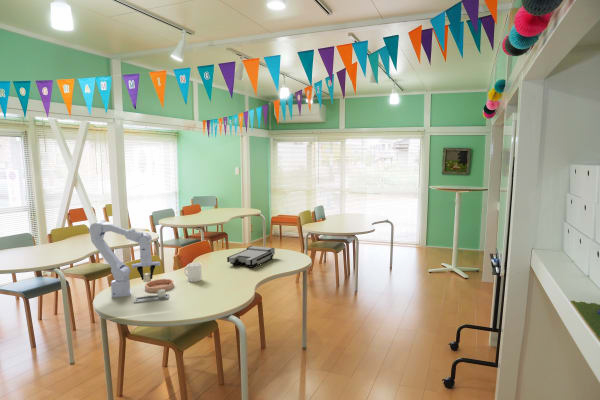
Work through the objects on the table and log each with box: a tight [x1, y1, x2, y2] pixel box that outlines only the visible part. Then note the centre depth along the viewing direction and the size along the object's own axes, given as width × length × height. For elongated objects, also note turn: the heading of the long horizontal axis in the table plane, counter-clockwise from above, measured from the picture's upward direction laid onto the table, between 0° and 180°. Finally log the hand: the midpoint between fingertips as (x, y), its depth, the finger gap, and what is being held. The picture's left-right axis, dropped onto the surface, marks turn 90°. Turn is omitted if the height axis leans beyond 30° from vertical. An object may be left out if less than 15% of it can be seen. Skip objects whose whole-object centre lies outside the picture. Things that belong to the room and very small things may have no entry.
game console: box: [226, 245, 276, 268], centre depth 272 cm, size 21×32×8 cm, turn 155°
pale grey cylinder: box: [156, 289, 166, 299], centre depth 201 cm, size 4×4×4 cm
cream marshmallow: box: [142, 272, 152, 283], centre depth 208 cm, size 4×4×4 cm
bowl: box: [144, 278, 175, 293], centre depth 218 cm, size 16×16×3 cm
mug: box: [184, 262, 203, 283], centre depth 233 cm, size 12×8×10 cm
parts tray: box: [133, 293, 170, 304], centre depth 200 cm, size 17×7×1 cm, turn 108°
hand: (147, 279), depth 209 cm, fingers closed on cream marshmallow, 4 cm apart
